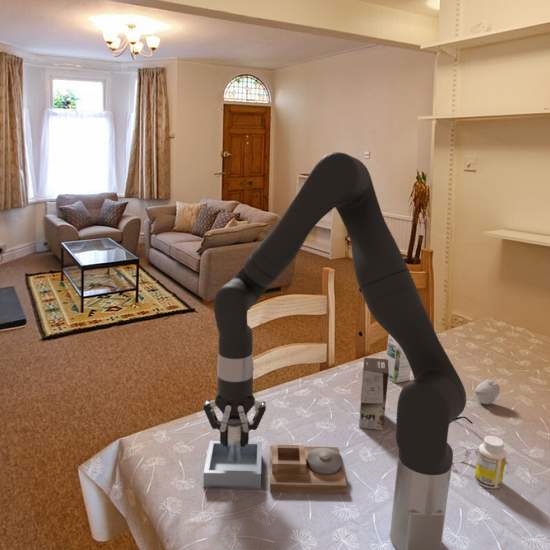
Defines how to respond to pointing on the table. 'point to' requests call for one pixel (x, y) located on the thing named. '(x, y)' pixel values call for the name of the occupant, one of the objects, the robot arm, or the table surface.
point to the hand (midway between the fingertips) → (234, 444)
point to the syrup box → (397, 362)
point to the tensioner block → (306, 469)
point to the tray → (233, 467)
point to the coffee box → (373, 393)
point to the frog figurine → (487, 391)
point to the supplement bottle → (490, 462)
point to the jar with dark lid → (234, 440)
